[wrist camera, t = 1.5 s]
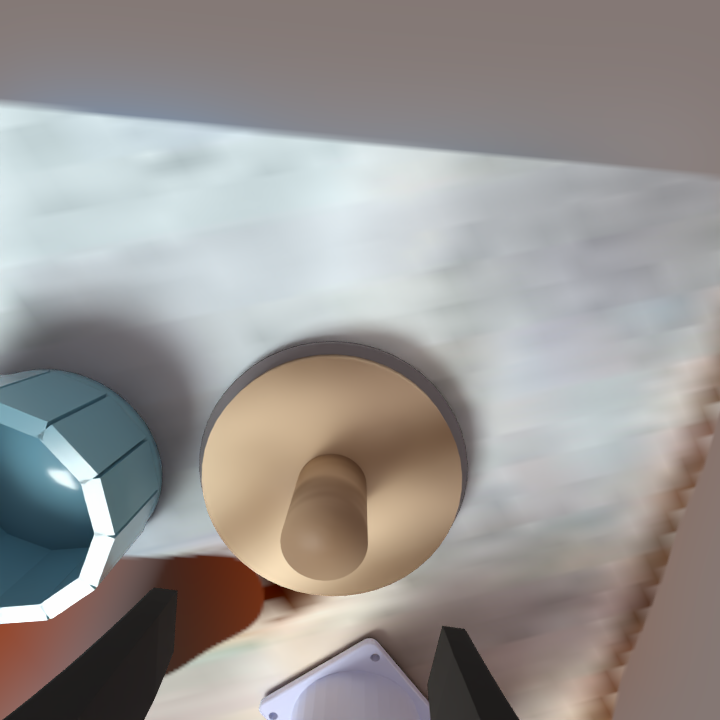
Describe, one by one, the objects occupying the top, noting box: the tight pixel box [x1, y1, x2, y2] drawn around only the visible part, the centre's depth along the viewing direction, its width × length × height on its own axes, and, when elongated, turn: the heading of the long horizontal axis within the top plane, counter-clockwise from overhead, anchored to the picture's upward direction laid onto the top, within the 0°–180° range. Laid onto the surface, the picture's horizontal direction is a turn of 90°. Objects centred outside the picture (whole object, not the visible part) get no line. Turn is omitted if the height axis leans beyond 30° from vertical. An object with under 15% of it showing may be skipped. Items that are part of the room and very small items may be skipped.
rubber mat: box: [199, 342, 467, 520], centre depth 20 cm, size 13×13×1 cm
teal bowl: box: [0, 369, 162, 624], centre depth 18 cm, size 10×10×4 cm
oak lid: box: [202, 354, 462, 596], centre depth 17 cm, size 12×12×5 cm
